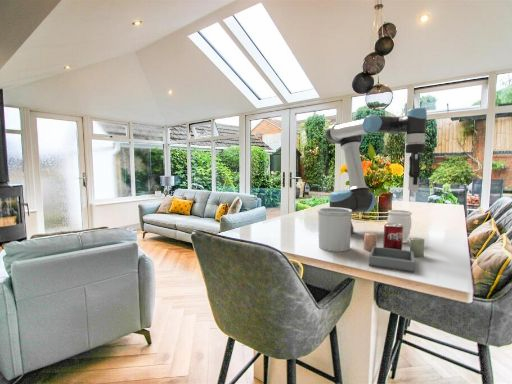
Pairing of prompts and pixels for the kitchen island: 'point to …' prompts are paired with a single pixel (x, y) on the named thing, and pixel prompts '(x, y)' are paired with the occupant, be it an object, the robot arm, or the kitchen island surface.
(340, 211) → the utensil holder
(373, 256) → the tray
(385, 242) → the soda can
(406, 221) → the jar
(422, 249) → the sage green capsule
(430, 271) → the kitchen island surface
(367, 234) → the peach glossy rounded knob
